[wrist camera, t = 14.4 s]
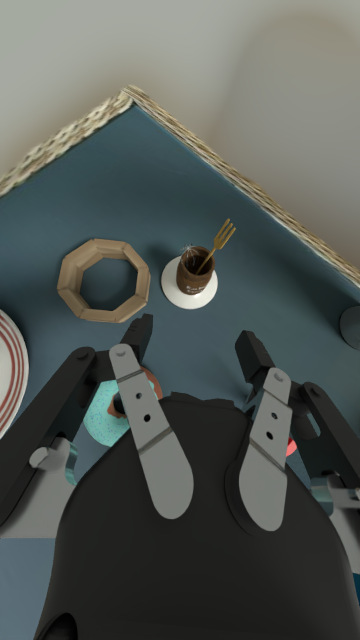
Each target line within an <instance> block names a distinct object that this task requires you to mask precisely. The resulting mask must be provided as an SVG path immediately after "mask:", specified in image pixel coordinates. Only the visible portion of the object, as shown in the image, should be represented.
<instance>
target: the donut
mask: <svg viewBox="0 0 360 640" xmlns="http://www.w3.org/2000/svg"><path fill="white" fill-rule="evenodd" d="M140 368H141V370H143V371H144V372H145V374H146V376H147V378H148V381H149V383H150V385H151V387H152V389H153V391H154V394H155V396H156V398H157V400H159V399H161V398H163V397H162V391H161V387H160V385H159V383H158V381H157V379H156V378H155V376H154V375H153V374H152V373H151V372H150V371H149V370H147V369H146V368H144V367H142V366H140ZM118 391H119V389H118V386H117V382H116V380H112V381H106V382H101V384H100V386H99V388H98V390H97V392H96V394H95V396H94V398H93V401H92V403H91V405H90V407H89V409H88V411H87V413H86V415H85V417H84V419H83V420H84V424H85V426H86V428H87V430H88V432H89V433H90V434H91V436H92V437H93V438H94V439H95V440H97V441H98V442H99V443H101V444H103V445H106V446H110V447H111V446H112V445H113V444H114V443H115V442H116V441H117V440H118V439H119V438H120V437H121V436H122V435H123V434H124V433H125V432H126V431H127V430H128V429H129V424H128V421H127V417H126V414H121V413H119V412H117V411H116V409H115V408H114V405H113V398H114V396H115V394H116V393H117V392H118Z"/></svg>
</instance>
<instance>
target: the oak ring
mask: <svg viewBox="0 0 360 640" xmlns="http://www.w3.org/2000/svg"><path fill="white" fill-rule="evenodd" d="M103 257H105V258H115V259H124V260H128V261H129V262H130V263H131V265H132V266H133V267H134V268H135V269H136V270H137V272H138V277H137V285H136V293H135V295H134V296H132V297H131V298H130V299H128V300H127V301H126V302H124V303H123V304H122V305H120V306H119V307H118V308H116V309H115V310H114V311H106V310H94V309H91V307H90V306H89V305H88V304H87V303H86V301H85V300H84V299H83V298H82V296H81V295H80V294H79V293H80V288H81V283H82V278H83V272H84V270H86V269H87V268H89V267H90V266H92V265H93V264H95V263H96V262H98V261H99V260H101V259H102V258H103ZM65 258H66V259H63V262H62V266H61V271H60V276H59V280H58V285H57V290H59V291H58V294H59V295H60V296H61V297H62V299H63V300H64V301H65V302H66V304H67V305H68V306H69V307H70V309H71V310H72V311H73V312H74V314H75V315H76V316H77V317H80V318H81V319H85V320H89V321H100V322H113V323H121V322H125V321H126V320H127V319H128V318H130V317H131V316H132V315H133V314H135V313H136V312H137V311H138V310H140V309H141V308H142V307H144V306H145V305H146V303H145V302H148V294H149V285H150V276H151V275H150V272H149V269H148V266H147V264H146V263H145V262H144V261H143V260H142V259H141V258H140V256H139V255H138V254H137V253H136V252H135V251H134V249H133V248H132V247H131V246H130V245H129V244H126V242H121V241H112V240H104V239H95V238H94V241H93V240H92V239H91V240H90V241H88V242H86V243H85V244H83V245H82V246H80V247H79V248H77V249H76V250H74V251H73V252H71V253H70V254H68V255H67V256H65Z"/></svg>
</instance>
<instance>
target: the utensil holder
mask: <svg viewBox="0 0 360 640" xmlns="http://www.w3.org/2000/svg"><path fill="white" fill-rule="evenodd" d="M228 222H229V219H227V221H226V222H225V224H224V225H223V227H222V228H221V230H220V231H219V233H218V234H217V236H216V237H215V239H214V248H213V249H212V251H211V252H210V251H209V250H207V249H206V248H204V247H200V246H193V247H192V244H190V245H191V247H190V246H189V247H188V246H187V245H186V244H185V245H186V246H187V247H188V248H187V250H186V251H185V252H184V253H183V255H182V257H181V259H180V262H179V264H178V267H177V273H176V283H177V286H178V288H179V290H180V291H181V292H183V293H184V294H186V295H197V294H199V293H201V292H202V291H203V290H204V289H205V287H206V286H207V285H208V283H209V281H210V280H211V277H212V273H213V271H214V267H215V260H214V257H213V255H212V254H213V252H214V251H215V250H216V248H217V249H221V248H222V247H223V246H224V244H225V243H226V242H227V240H228V239H229V238H230V236H231V235H232V234H233V232H234V231H235V227H234V228H233V229H232V230H231V232H230V233H229V234H228V236H227V237H226V238H225V240H224V241H223V242H222V240H223V238H224V237H225V235H226V234H227V232H228V231H229V230H230V228H231V227H232V223H230V225H229V226H228V228H227V229H226V230H225V232H224V233H223V235H222V236H221V237H220V235H221V233H222V232H223V230H224V229H225V227H226V226H227V224H228ZM185 245H184V248H185ZM184 248H183V249H184ZM181 250H182V249H181ZM181 250H180V255H181Z"/></svg>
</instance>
